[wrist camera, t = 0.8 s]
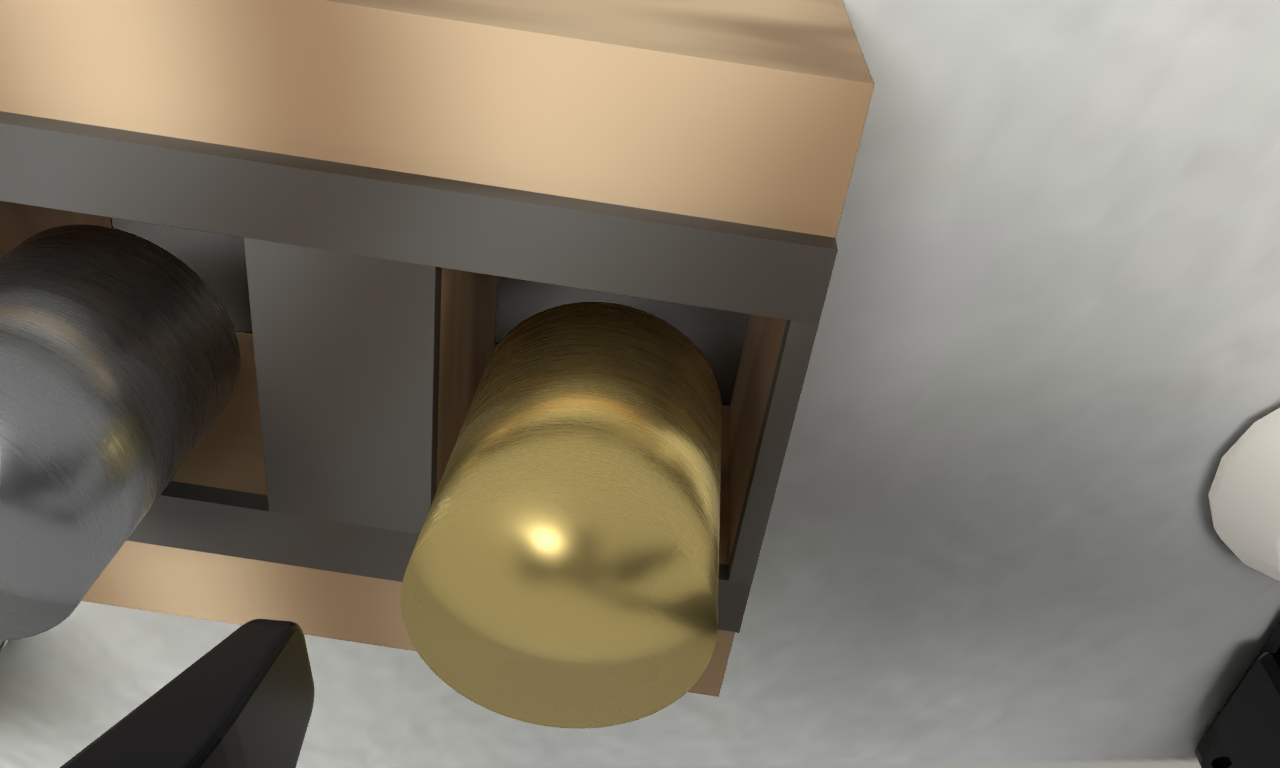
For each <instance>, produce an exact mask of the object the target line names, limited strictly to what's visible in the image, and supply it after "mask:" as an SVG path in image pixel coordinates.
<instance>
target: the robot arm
mask: <svg viewBox="0 0 1280 768" xmlns="http://www.w3.org/2000/svg"><path fill="white" fill-rule="evenodd" d="M313 703H314V682H313V677H312V672H311V667H310V663H309V658H308V653H307V648H306V643H305V638H304V634H303V631H302V629H301V627H300V626H299V625H298V624H297V623H294V622H292V621H281V620H270V619H254V620H251V621H249V622H247V623H245V624H244V625H242V626H241V627H240V628H239V629H237V630H236V631H235V632H233V633H232V634H231V635H230V636H228V637H227V638H226V639H224V640H223V641H222V642H221V643H219V644H218V645H217V646H215V647H214V648H213V649H212V650H210V651H209V652H208V653H206V654H205V655H204V656H203V657H201V658H200V659H199V660H197V661H196V662H195V663H194V664H192V665H191V666H190V667H188V668H187V669H186V670H185V671H183V672H182V673H181V674H179V675H178V676H177V677H176V678H174V679H173V680H172V681H170V682H169V683H168V684H167V685H165V686H164V687H163V688H161V689H160V690H159V691H158V692H156V693H155V694H154V695H153V696H151V697H150V698H149V699H147V700H146V701H145V702H144V703H142V704H141V705H140V706H138V707H137V708H136V709H135V710H133V711H132V712H131V713H129V714H128V715H127V716H126V717H124V718H123V719H122V720H120V721H119V722H118V723H117V724H115V725H114V726H113V727H111V728H110V729H109V730H108V731H106V732H105V733H104V734H102V735H101V736H100V737H99V738H97V739H96V740H95V741H93V742H92V743H91V744H90V745H88V746H87V747H86V748H84V749H83V750H82V751H81V752H79V753H78V754H77V755H75V756H74V757H73V758H72V759H70V760H69V761H68V762H66V763H65V764H64V765H63V766H61V767H60V768H295V767H296V764H297V761H298V757H299V754H300V750H301V747H302V744H303V740H304V737H305V733H306V730H307V727H308V723H309V720H310V716H311V713H312V708H313ZM1195 753H1196V756H1197V758H1198V761H1199V763H1200V765H1201V767H1202V768H1280V623H1279V624H1278V626H1277V627H1276V629H1275V630H1274V632H1273V633H1272V635H1271V636H1270V638H1269V639H1268V641H1267V642H1266V644H1265V645H1264V647H1263V648H1262V650H1261V651H1260V653H1259V654H1258V656H1257V657H1256V659H1255V660H1254V662H1253V663H1252V665H1251V666H1250V668H1249V669H1248V671H1247V672H1246V674H1245V675H1244V677H1243V678H1242V680H1241V681H1240V683H1239V684H1238V686H1237V687H1236V689H1235V690H1234V692H1233V693H1232V695H1231V696H1230V698H1229V699H1228V701H1227V702H1226V704H1225V705H1224V707H1223V708H1222V710H1221V711H1220V713H1219V714H1218V716H1217V717H1216V719H1215V720H1214V722H1213V723H1212V725H1211V726H1210V728H1209V729H1208V731H1207V732H1206V734H1205V735H1204V737H1203V738H1202V740H1201V741H1200V743H1199V744H1198V746H1197V748H1196V751H1195Z"/></svg>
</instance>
